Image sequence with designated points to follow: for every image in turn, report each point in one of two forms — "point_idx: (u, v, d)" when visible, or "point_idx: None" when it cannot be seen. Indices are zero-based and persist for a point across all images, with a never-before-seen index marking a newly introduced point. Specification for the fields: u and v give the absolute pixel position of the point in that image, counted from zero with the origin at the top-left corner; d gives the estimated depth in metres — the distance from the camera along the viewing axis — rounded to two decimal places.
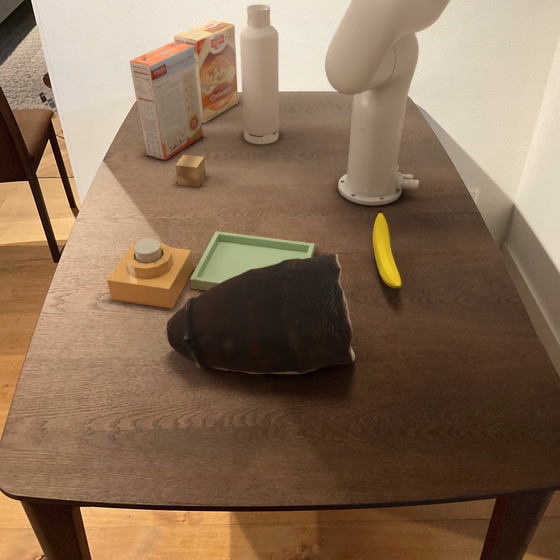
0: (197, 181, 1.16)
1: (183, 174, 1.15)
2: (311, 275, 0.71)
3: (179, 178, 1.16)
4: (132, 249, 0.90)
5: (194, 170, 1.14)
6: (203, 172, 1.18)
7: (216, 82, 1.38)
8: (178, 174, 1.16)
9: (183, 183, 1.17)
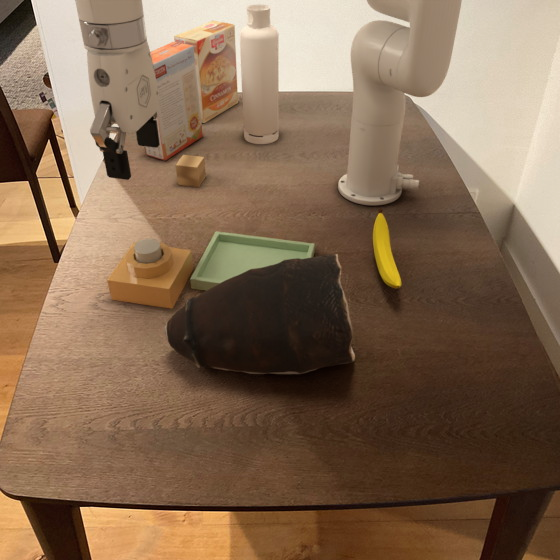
0: (197, 181, 1.16)
1: (183, 174, 1.15)
2: (311, 275, 0.71)
3: (179, 178, 1.16)
4: (132, 249, 0.90)
5: (194, 170, 1.14)
6: (203, 172, 1.18)
7: (216, 82, 1.38)
8: (178, 174, 1.16)
9: (183, 183, 1.17)
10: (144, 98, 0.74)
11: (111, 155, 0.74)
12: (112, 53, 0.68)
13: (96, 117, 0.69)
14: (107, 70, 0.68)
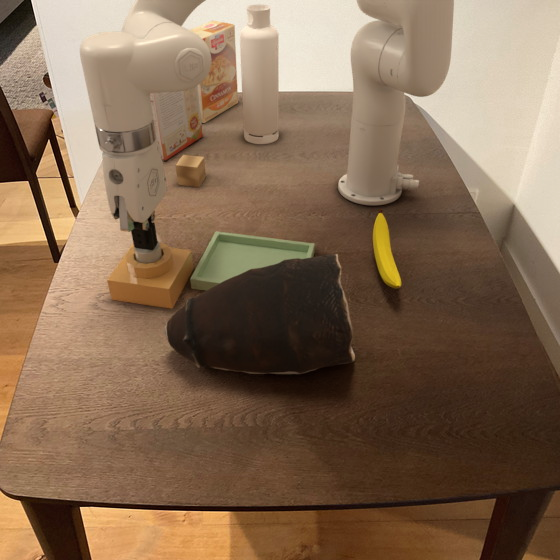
0: (197, 181, 1.16)
1: (183, 174, 1.15)
2: (311, 275, 0.71)
3: (179, 178, 1.16)
4: (132, 249, 0.90)
5: (194, 170, 1.14)
6: (203, 172, 1.18)
7: (216, 82, 1.38)
8: (178, 174, 1.16)
9: (183, 183, 1.17)
10: (154, 188, 0.81)
11: (138, 231, 0.85)
12: (125, 155, 0.74)
13: (120, 217, 0.79)
14: (121, 171, 0.75)
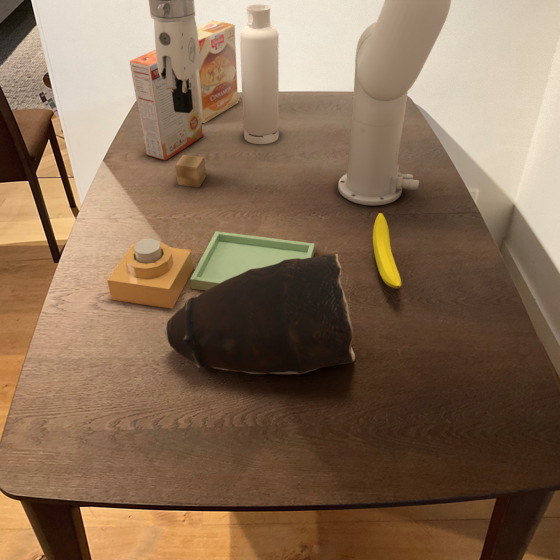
0: (197, 181, 1.16)
1: (183, 174, 1.15)
2: (311, 275, 0.71)
3: (179, 178, 1.16)
4: (132, 249, 0.90)
5: (194, 170, 1.14)
6: (203, 172, 1.18)
7: (216, 82, 1.38)
8: (178, 174, 1.16)
9: (183, 183, 1.17)
10: (192, 55, 1.02)
11: (178, 94, 1.05)
12: (172, 21, 0.95)
13: (167, 76, 1.00)
14: (169, 33, 0.95)
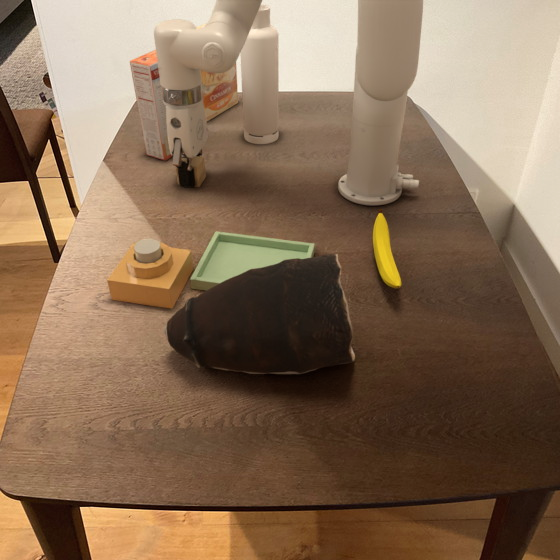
0: (197, 181, 1.16)
1: None
2: (311, 275, 0.71)
3: None
4: (132, 249, 0.90)
5: (194, 170, 1.14)
6: (203, 172, 1.18)
7: (216, 82, 1.38)
8: None
9: None
10: (200, 134, 1.12)
11: (184, 172, 1.13)
12: (183, 107, 1.05)
13: (174, 153, 1.08)
14: (179, 118, 1.05)
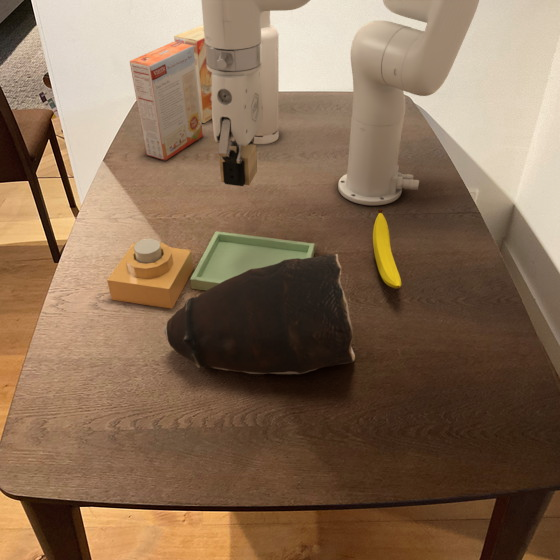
0: (247, 177, 0.87)
1: None
2: (311, 275, 0.71)
3: None
4: (132, 249, 0.90)
5: (245, 162, 0.85)
6: (254, 166, 0.89)
7: None
8: (222, 168, 0.87)
9: None
10: (255, 113, 0.82)
11: (231, 165, 0.84)
12: (235, 75, 0.76)
13: (221, 139, 0.79)
14: (230, 90, 0.76)
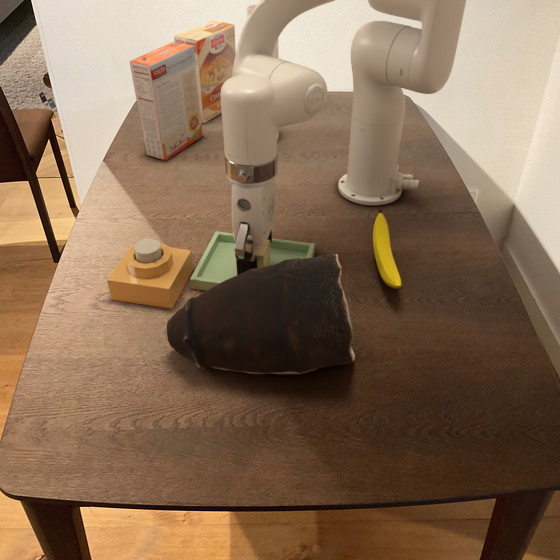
0: None
1: None
2: (311, 275, 0.71)
3: None
4: (132, 249, 0.90)
5: (260, 259, 0.91)
6: (268, 258, 0.95)
7: (216, 82, 1.38)
8: None
9: None
10: (270, 213, 0.88)
11: (244, 262, 0.88)
12: (254, 186, 0.81)
13: (238, 236, 0.83)
14: (249, 200, 0.82)
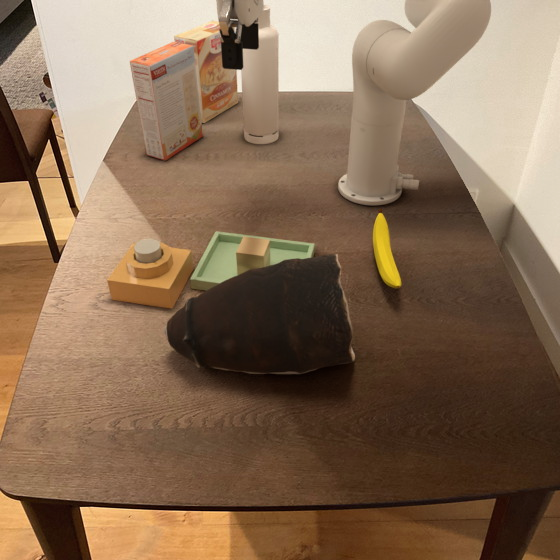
0: None
1: (245, 262, 0.92)
2: (311, 275, 0.71)
3: (239, 267, 0.93)
4: (132, 249, 0.90)
5: (260, 259, 0.91)
6: (268, 258, 0.95)
7: (216, 82, 1.38)
8: (239, 263, 0.92)
9: None
10: None
11: (229, 45, 0.86)
12: None
13: (222, 8, 0.81)
14: None
